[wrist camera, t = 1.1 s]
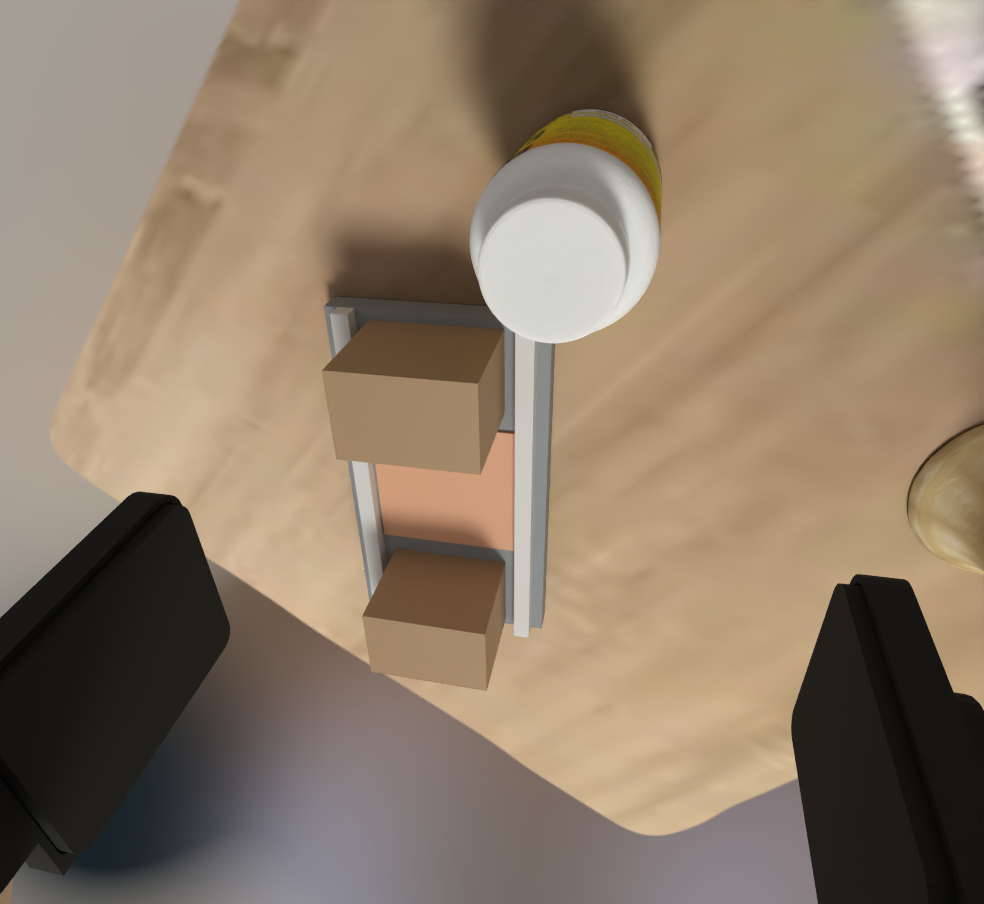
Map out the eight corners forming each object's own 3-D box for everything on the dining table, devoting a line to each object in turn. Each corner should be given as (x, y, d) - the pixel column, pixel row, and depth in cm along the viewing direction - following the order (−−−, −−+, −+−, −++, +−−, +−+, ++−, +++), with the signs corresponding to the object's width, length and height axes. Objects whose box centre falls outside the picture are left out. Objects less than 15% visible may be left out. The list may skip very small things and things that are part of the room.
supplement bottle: (550, 79, 25) (491, 120, 16) (690, 146, 25) (702, 220, 17) (494, 224, 28) (420, 320, 19) (619, 282, 28) (599, 402, 20)
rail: (335, 296, 31) (270, 354, 26) (556, 310, 29) (533, 375, 24) (376, 588, 41) (335, 672, 36) (544, 612, 39) (526, 704, 34)
